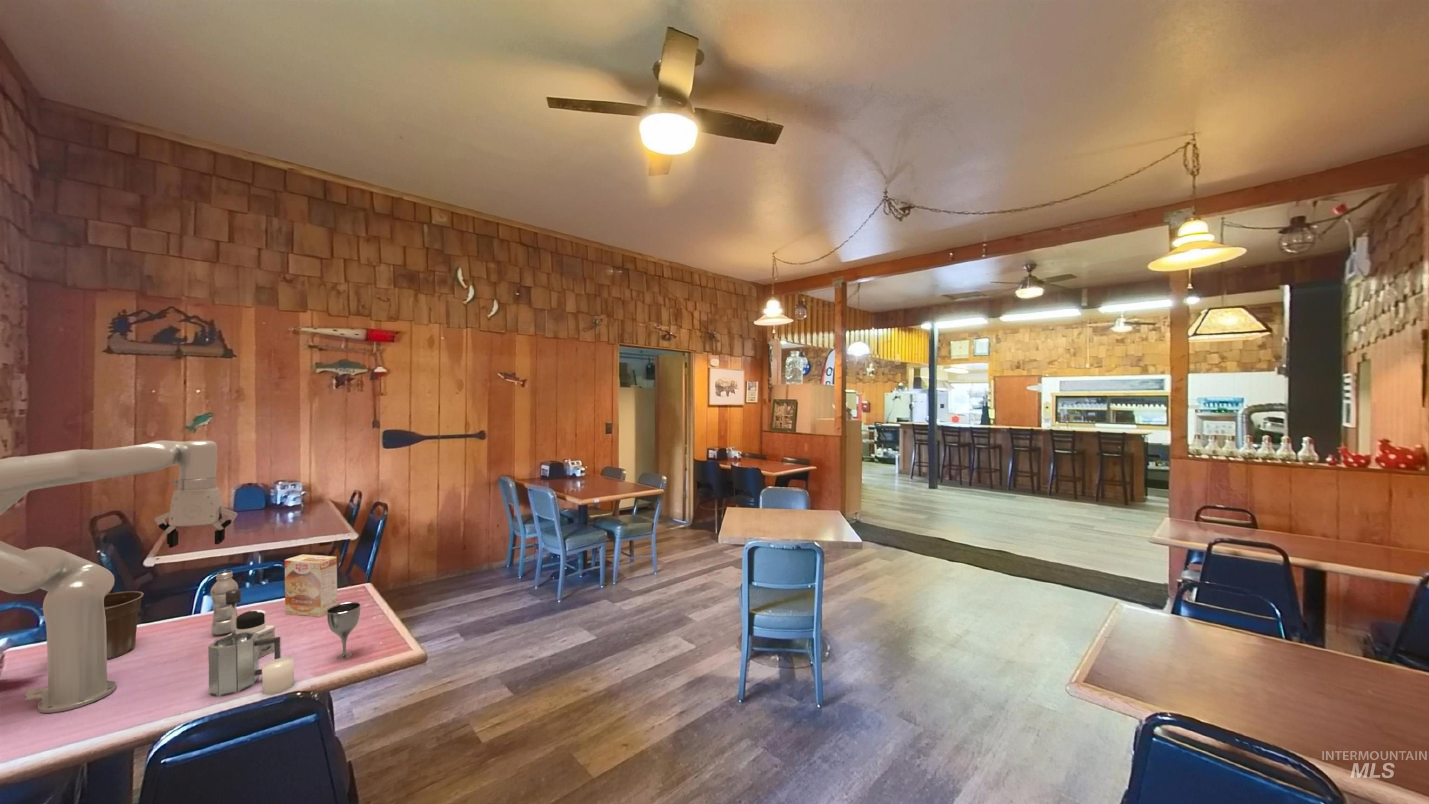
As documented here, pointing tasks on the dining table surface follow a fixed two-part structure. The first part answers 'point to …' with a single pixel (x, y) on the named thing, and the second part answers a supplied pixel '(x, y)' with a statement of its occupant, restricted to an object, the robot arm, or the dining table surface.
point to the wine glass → (343, 622)
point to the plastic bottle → (222, 603)
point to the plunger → (233, 609)
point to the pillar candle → (277, 675)
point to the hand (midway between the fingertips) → (196, 544)
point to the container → (257, 628)
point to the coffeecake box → (310, 584)
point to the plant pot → (121, 621)
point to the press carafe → (236, 663)
